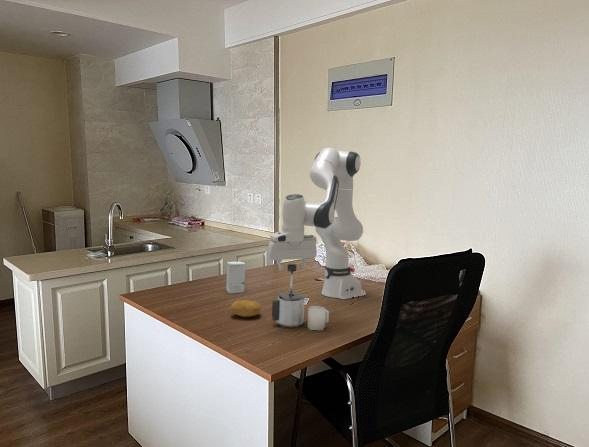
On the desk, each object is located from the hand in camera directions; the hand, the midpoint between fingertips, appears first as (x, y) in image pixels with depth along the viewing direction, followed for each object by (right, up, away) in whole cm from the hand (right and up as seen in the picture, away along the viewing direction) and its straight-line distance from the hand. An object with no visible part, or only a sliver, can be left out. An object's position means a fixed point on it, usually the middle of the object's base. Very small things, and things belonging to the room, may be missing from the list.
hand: (291, 269), depth 176 cm
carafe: (-2, -22, +3) cm, 22 cm away
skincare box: (-29, -16, +44) cm, 55 cm away
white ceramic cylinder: (+10, -23, -1) cm, 25 cm away
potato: (-20, -21, +9) cm, 30 cm away
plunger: (0, -13, +2) cm, 13 cm away
